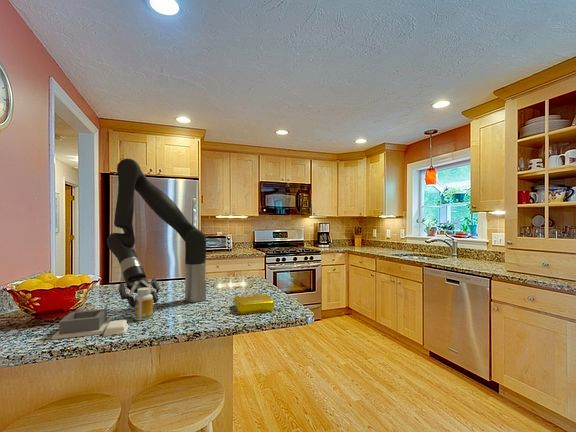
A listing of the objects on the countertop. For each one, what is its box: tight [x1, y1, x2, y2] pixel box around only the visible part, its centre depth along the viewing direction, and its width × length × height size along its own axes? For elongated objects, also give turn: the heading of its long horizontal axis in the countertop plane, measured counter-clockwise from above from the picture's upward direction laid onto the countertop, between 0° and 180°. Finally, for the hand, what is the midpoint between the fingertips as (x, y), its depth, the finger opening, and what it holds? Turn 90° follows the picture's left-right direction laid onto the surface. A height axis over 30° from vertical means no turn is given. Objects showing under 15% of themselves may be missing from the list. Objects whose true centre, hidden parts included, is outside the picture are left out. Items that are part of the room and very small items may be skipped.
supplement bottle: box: [134, 287, 154, 321], centre depth 115 cm, size 6×6×11 cm
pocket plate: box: [51, 308, 113, 340], centre depth 103 cm, size 14×14×5 cm
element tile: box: [233, 293, 275, 315], centre depth 128 cm, size 15×15×5 cm
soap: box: [103, 319, 129, 337], centre depth 102 cm, size 9×7×3 cm
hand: (145, 303), depth 114 cm, fingers open, 8 cm apart
